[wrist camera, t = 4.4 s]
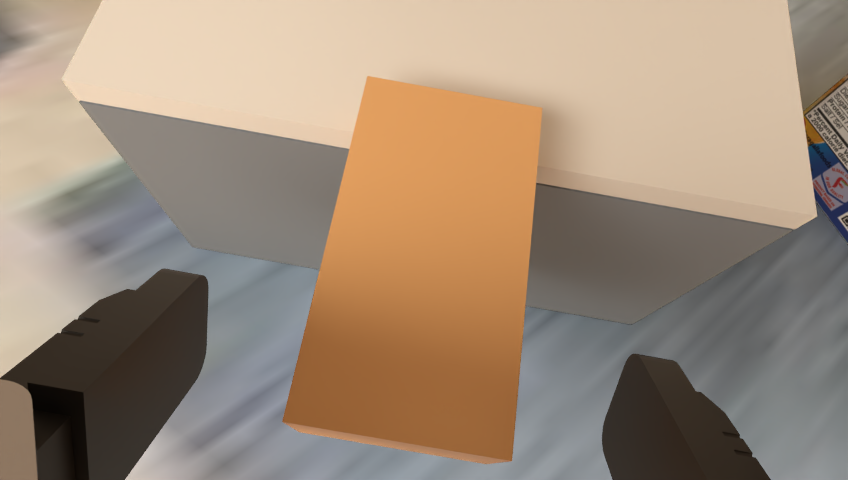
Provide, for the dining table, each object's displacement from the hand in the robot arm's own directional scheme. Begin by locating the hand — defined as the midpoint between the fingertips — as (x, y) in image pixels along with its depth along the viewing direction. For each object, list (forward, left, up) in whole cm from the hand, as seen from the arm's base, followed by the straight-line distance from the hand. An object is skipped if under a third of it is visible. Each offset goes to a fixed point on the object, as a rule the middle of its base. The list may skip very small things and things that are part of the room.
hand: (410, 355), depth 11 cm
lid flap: (0, +10, -2) cm, 10 cm away
